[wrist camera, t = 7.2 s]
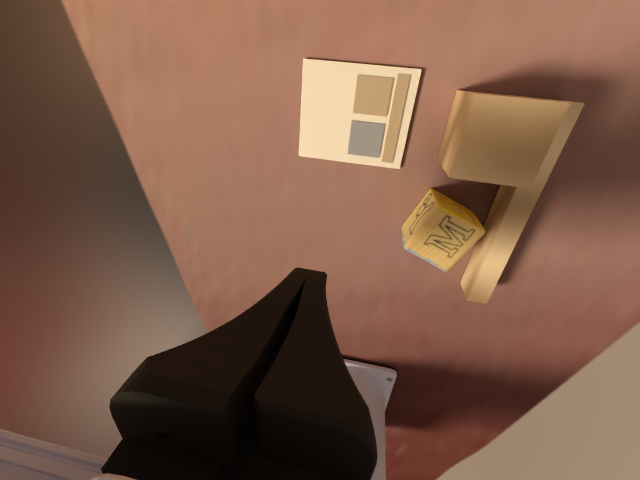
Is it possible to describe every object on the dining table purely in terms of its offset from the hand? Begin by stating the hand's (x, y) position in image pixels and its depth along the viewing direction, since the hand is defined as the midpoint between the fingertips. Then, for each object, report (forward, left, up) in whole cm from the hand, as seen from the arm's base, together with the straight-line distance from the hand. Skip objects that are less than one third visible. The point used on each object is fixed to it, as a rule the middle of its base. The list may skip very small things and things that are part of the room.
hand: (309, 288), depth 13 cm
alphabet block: (+1, -6, -8) cm, 10 cm away
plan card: (+6, 0, -8) cm, 10 cm away
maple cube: (+6, -7, -8) cm, 12 cm away
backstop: (+2, -10, -8) cm, 13 cm away
